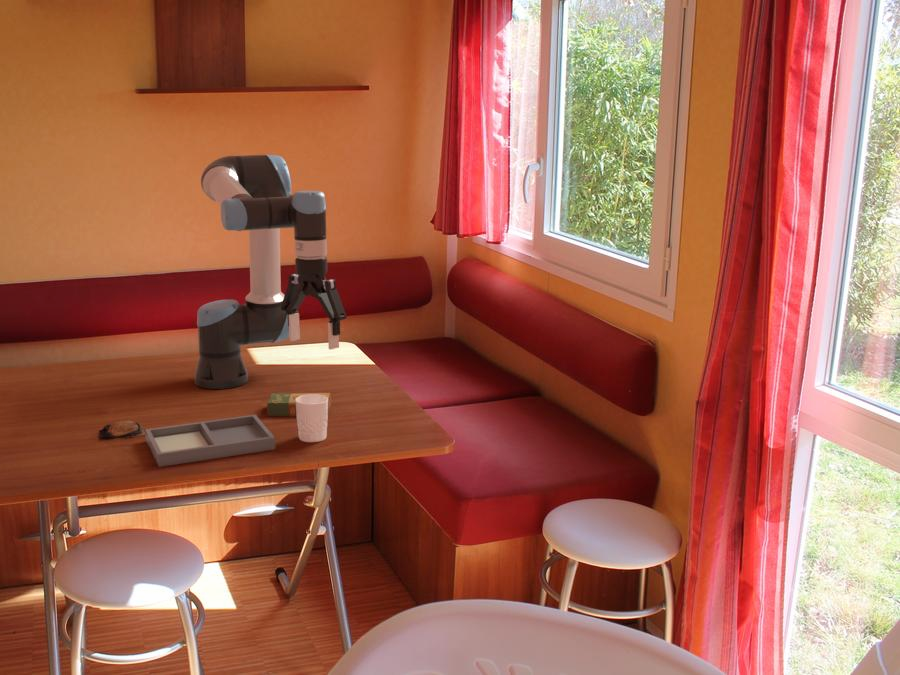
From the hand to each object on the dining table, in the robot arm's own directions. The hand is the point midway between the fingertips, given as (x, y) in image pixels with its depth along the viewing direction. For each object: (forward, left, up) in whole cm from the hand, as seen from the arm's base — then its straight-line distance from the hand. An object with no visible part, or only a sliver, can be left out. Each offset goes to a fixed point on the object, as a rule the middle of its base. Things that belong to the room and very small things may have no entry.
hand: (314, 344), depth 239 cm
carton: (-19, +1, -24) cm, 30 cm away
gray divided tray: (-3, -26, -23) cm, 35 cm away
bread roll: (-20, -44, -24) cm, 54 cm away
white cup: (+2, -2, -23) cm, 23 cm away
